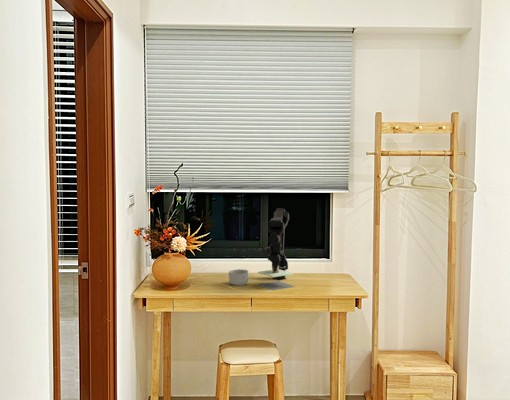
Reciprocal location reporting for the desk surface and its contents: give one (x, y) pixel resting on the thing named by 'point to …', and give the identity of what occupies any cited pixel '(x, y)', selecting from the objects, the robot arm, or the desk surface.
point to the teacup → (238, 277)
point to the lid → (275, 274)
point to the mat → (275, 285)
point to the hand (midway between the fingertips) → (275, 270)
